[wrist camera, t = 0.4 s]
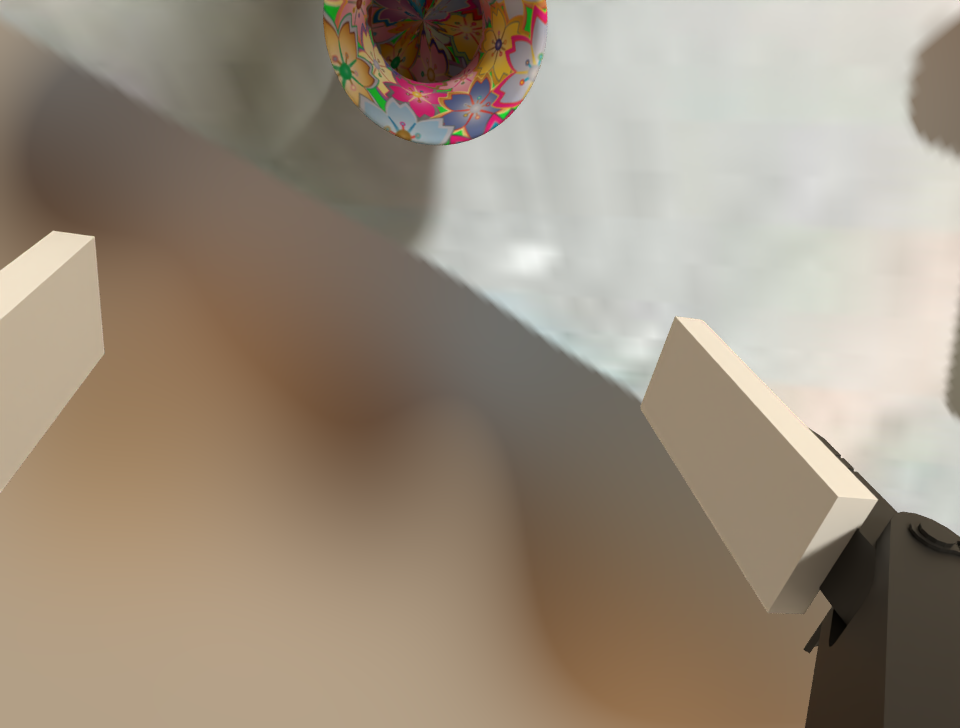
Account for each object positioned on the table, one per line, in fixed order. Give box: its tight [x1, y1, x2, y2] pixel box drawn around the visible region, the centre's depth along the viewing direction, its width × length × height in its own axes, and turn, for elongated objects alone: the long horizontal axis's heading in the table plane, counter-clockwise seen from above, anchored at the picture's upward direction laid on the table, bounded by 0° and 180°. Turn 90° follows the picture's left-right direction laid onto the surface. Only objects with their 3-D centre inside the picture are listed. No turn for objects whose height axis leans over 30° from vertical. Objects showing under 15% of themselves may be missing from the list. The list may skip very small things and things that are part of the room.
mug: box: [323, 0, 547, 145], centre depth 31 cm, size 12×9×11 cm
